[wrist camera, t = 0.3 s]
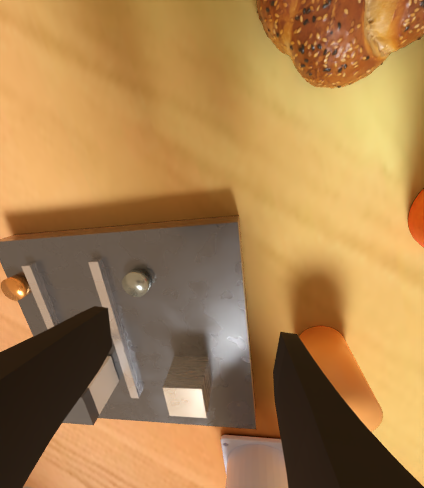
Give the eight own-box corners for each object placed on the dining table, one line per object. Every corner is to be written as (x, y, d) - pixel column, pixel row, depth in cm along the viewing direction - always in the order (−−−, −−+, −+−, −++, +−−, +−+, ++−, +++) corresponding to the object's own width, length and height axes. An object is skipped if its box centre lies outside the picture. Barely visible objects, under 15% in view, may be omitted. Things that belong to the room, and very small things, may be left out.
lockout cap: (344, 363, 21) (379, 439, 15) (296, 362, 21) (313, 434, 16) (346, 325, 19) (386, 393, 14) (295, 326, 20) (314, 390, 15)
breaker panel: (255, 408, 24) (256, 468, 19) (81, 398, 27) (47, 447, 23) (238, 215, 18) (235, 235, 13) (14, 234, 21) (-52, 256, 16)
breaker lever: (119, 380, 22) (93, 425, 19) (90, 379, 23) (60, 422, 19) (111, 356, 21) (82, 397, 18) (81, 355, 22) (47, 395, 18)
